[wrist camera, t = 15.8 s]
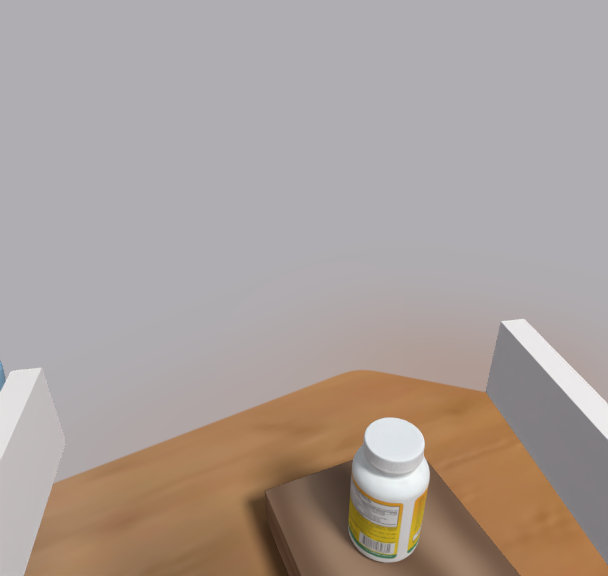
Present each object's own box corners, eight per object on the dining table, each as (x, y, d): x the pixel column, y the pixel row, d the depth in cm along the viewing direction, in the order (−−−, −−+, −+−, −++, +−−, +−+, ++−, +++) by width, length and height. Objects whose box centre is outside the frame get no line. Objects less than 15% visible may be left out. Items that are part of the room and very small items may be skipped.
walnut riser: (339, 700, 33) (340, 667, 31) (267, 522, 44) (265, 490, 42) (511, 611, 38) (522, 578, 36) (406, 470, 49) (410, 440, 47)
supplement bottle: (366, 575, 36) (374, 479, 31) (337, 512, 40) (340, 420, 36) (433, 551, 37) (451, 457, 33) (398, 493, 42) (409, 403, 37)
